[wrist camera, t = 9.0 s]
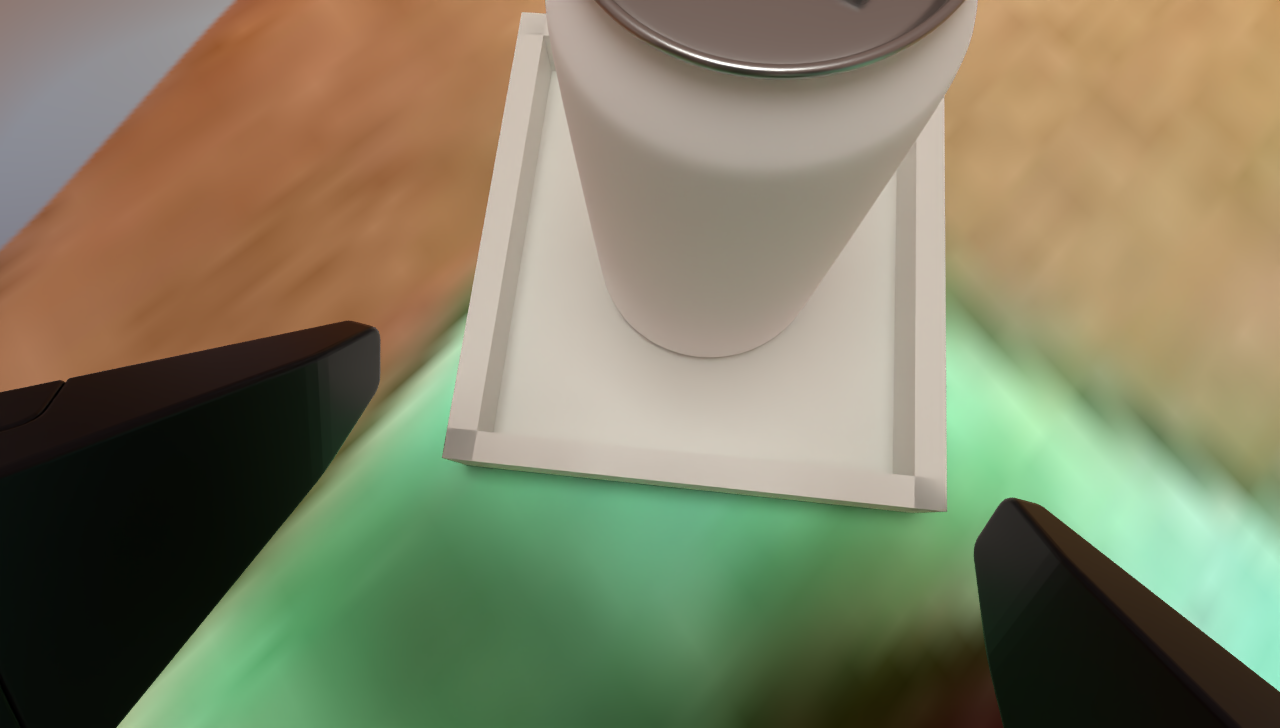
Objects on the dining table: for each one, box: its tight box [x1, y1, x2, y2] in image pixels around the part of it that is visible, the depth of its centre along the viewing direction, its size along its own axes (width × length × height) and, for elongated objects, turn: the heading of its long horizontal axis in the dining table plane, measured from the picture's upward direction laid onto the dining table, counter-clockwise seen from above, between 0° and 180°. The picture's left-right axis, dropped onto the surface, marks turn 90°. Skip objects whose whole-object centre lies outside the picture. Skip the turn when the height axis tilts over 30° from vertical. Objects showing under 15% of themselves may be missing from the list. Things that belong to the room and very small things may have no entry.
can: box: [545, 0, 978, 357], centre depth 14 cm, size 6×6×12 cm
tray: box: [442, 12, 947, 513], centre depth 19 cm, size 14×13×2 cm
